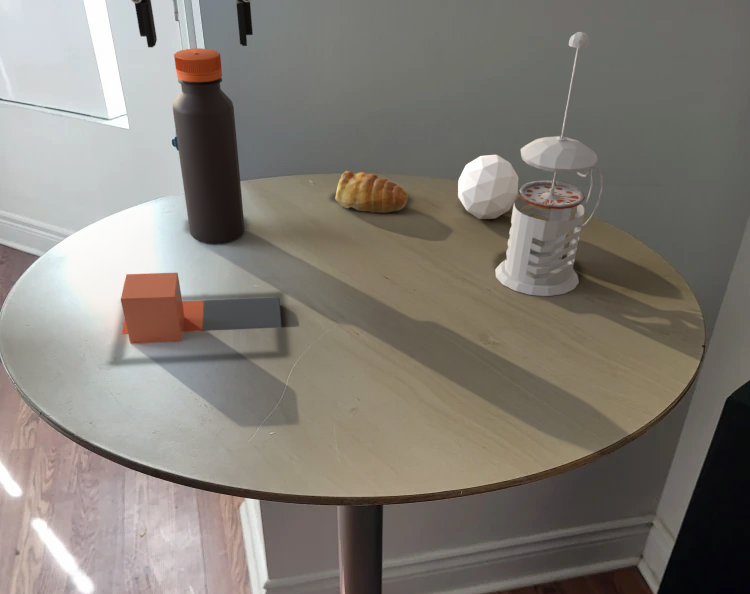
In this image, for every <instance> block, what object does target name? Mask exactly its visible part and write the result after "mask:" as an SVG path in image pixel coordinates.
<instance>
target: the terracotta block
mask: <svg viewBox="0 0 750 594" xmlns="http://www.w3.org/2000/svg"><path fill="white" fill-rule="evenodd" d="M179 278H180V277H179V272H155V273H154V272H151V273H127V274H125V277H124V283H123V287H122V291H121V296H120V303H121V307H122V312H123V316H124V320H125V321H126V326H127V331H128V334H127V335H128V339H129V343H130V344H149V343H150V344H151V343H152V344H153V343H171V342H172V343H174V342H175V343H177V342H183V335H184V332H183V330H184V319H185V316H184V309H183V303H182V301H183V296H182V290H181V285H180V279H179Z"/></svg>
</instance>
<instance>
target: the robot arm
mask: <svg viewBox="0 0 750 594" xmlns="http://www.w3.org/2000/svg"><path fill="white" fill-rule="evenodd" d="M251 1H252V0H236V4H235V5H236V14H237V26H238V36H239V37H238V38H239V45H241V47H247V46H248V39H247V36H253V35H254V33H253V21H252V19H253V18H252V10H251V9H252V8H251V7H252V6H251ZM131 2H132V3H134V8H135V14H136V19H137V25H138V31H139V35H140V37H146V43H147V47H148V48H154V47H155V46H156V45H157V41H158V39H157V31H156V24H155V19H154V13H153V5H152V0H131Z"/></svg>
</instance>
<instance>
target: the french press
mask: <svg viewBox="0 0 750 594" xmlns="http://www.w3.org/2000/svg"><path fill="white" fill-rule="evenodd" d="M589 45H590V37H589V36H588V34H587V33H586V32H583V31H577V32H575V33H574V34H573V35H571V36H570V38H569V41H568V46H569V47H571V48H576V51H575V56H574V63H573V69H572V74H571V79H570V84H569V90H568V97H567V102H566V107H565V112H564V118H563V124H562V129H561V134H560V135H557V136H544V137H540V138H536V139H534V140H533V141H531V142H529V143H528V144H525V145H524V146H522V147H521V148H520V156H521V159H522V161H524V162H525V163H526V164H527V165H528V166H531V167H533V168H536V169H538V170H543V171H547V172H551V173H554V175H553V180H549V179H548V180H545V179H544V180H536V181H535V180H534V181H530V182H526V183H523V185H521V187H520V188H518V194H519V197H518V198H516V199H515V200H514V202H513V205H512V214H511V219H510V223H511V226H510V227H509V237H508V240H507V248H506V253H505V256H506V257H505V259H504V260H503V261H501V262H500V264H499V265H498V266H497V267H496V268H495V271H494V272H495V278H496V279H497V280H498V281H499V283H501V285H503V286H504V287H507V288H509V289H511V290H513V291H514V292H517V293H522V294H525V295H530V296H542V297H553V296H558V295H564V294H567V293H569V292H572V291H573V290H575V289H576V287H577V286H578V284H579V283H580V280H579V275H578V273H577V272H576V271H575V269H574V265H575V260H576V254H577V250H578V247H579V246H578V245H579V241H580V237H581V232H582V229H583V228H584V227H585V226H586V225H588V223H589V222H590V221H591V220H592V219H593V217H594V216H595V214H596V212H597V210H598V208H599V206H600V203H601V201H602V195H603V191H604V178H603V173H602V171H601V170H600V168H599V167H598V166H596V163H598V161H599V159H598V156H597V153H596V152H595V151H593V149H591V148H590V147H588V146H587V145H585V144H584V143H583V142H581V141H579V140H577V139H573V138H571V137H566V136H564V133H565V128H566V123H567V117H568V112H569V106H570V102H571V101H570V100H571V96H572V90H573V85H574V78H575V73H576V68H577V62H578V57H579V53H580V49H586V48H589ZM593 169H595V170H596V172H597V173H598V174H599V175H598V176H599V179H600V191H599V195H598V198H597V202H596V205H595V207H594V208H593V211H592V213H591V215H590V216H589V217H588V218H587V220H586V221H585V222H584V223H583V221H584V217H585V214H586V213H585V212H586V210H585V209H586V208H587V206H588V203H589V201H590V199H591V196H592V193H593V187H594V171H593ZM585 171H586V173H585V174H583V173H582V172H585ZM557 173H561V174H573V173H576V174H577V176H579V177H582V178H587V177H588V175H589V173H590V187H589V190H588V195H587V198H586V196H585V193H584V192H583V191H582V190H581V189H580V188H578V187H577V186H575V185H572V184H569V183H567V182H565V183H564V182H563V181H562V182H561V181H558V180H557V181H556V179H557ZM585 199H586V201H585V203H584V205H582V203H583V202H584V200H585ZM528 205H532V206H535V207H531V208H528V209H526V210H523V211H521V210H522V209H523V208H524V207H525V206H528ZM537 207H539V208H537ZM575 207H576V211H575V216H574V218H573V219H571V216H572V215H571V214H572V210H573V208H575ZM541 208H544V209H541ZM545 209H549V210H550V212H549V211H547V210H545ZM530 215H538V216H542V217H544V218H545V219H548V220H544V219H540V218H535V217H532V216H530ZM569 232H571V235H569V236H567V235H568V233H569ZM534 239H536V240H534ZM537 240H538V241H537ZM542 242H544V243H542ZM568 243H569V244H568ZM567 244H568V246H567V247H566V248H565V245H567ZM565 255H566V257H565V258H563V256H565Z"/></svg>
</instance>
